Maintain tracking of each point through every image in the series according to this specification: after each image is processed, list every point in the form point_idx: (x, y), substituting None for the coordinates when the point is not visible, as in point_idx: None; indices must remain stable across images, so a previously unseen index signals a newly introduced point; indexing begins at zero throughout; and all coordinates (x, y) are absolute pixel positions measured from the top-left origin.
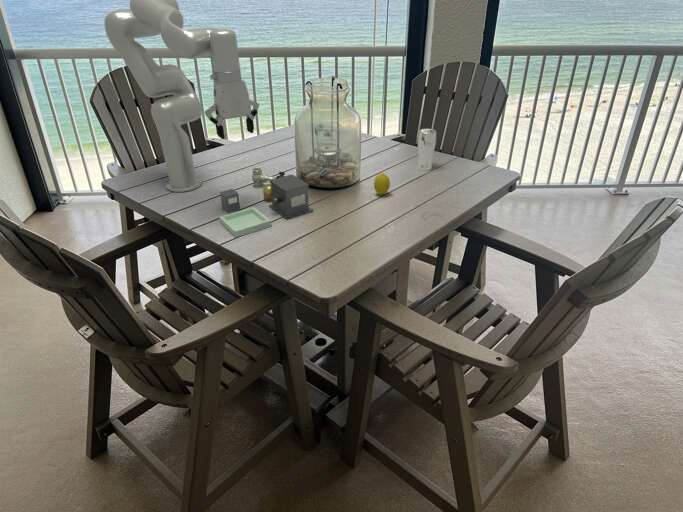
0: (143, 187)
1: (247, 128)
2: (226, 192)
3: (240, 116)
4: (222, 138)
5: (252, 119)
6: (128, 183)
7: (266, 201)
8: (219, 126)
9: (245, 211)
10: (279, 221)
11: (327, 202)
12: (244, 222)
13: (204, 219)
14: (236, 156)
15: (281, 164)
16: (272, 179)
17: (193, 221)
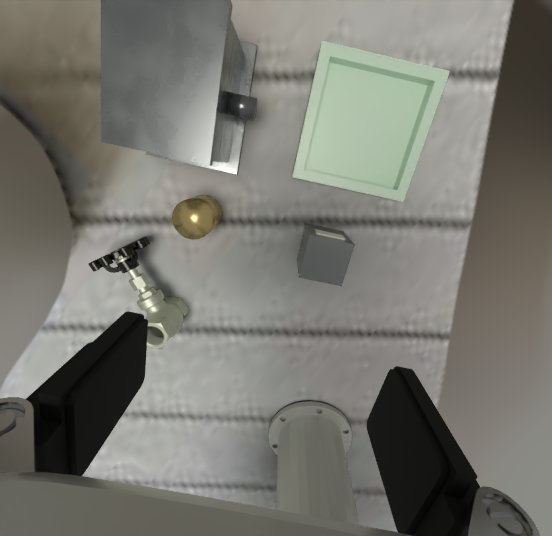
0: (374, 479)
1: (133, 390)
2: (330, 267)
3: (194, 496)
4: (409, 372)
5: (19, 405)
6: (380, 512)
7: (221, 209)
8: (461, 487)
9: (326, 174)
10: (280, 58)
11: (75, 42)
12: (363, 132)
13: (408, 247)
14: (117, 476)
15: (46, 370)
16: (195, 162)
17: (432, 259)
